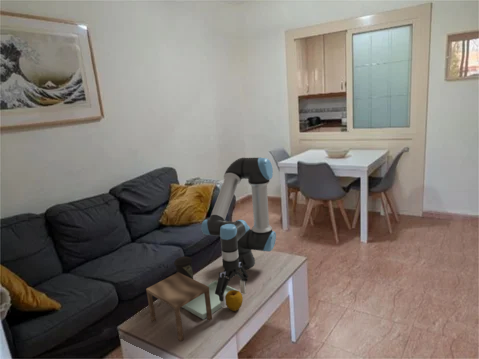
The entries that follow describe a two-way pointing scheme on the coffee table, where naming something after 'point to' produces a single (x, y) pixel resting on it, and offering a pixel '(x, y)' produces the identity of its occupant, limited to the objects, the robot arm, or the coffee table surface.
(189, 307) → the tray
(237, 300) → the apple
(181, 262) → the container
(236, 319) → the coffee table surface
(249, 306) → the coffee table surface
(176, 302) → the riser
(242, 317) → the coffee table surface
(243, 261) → the robot arm
